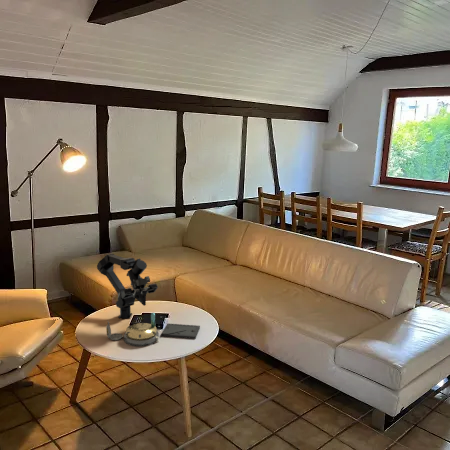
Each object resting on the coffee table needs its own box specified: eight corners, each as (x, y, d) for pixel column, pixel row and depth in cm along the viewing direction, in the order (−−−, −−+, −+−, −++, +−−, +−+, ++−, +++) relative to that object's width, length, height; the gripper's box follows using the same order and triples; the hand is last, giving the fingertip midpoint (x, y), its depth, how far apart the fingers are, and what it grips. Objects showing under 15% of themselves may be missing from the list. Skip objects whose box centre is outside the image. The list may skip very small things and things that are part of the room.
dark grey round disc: (128, 331, 234) (128, 326, 234) (161, 331, 234) (161, 327, 234) (120, 346, 218) (120, 341, 217) (157, 346, 218) (157, 341, 217)
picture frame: (161, 337, 229) (195, 340, 227) (160, 333, 229) (195, 336, 227) (167, 326, 242) (200, 329, 240) (167, 322, 242) (200, 325, 240)
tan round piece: (129, 327, 233) (129, 309, 231) (158, 327, 233) (158, 310, 231) (123, 340, 218) (122, 322, 216) (154, 341, 218) (153, 322, 216)
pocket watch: (125, 337, 227) (125, 318, 225) (113, 343, 220) (113, 324, 218) (113, 333, 231) (113, 314, 229) (101, 339, 224) (100, 320, 222)
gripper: (123, 274, 229) (132, 301, 223) (156, 268, 240) (165, 294, 233) (117, 284, 237) (126, 311, 231) (149, 279, 248) (159, 304, 241)
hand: (144, 305), depth 234 cm, fingers closed
